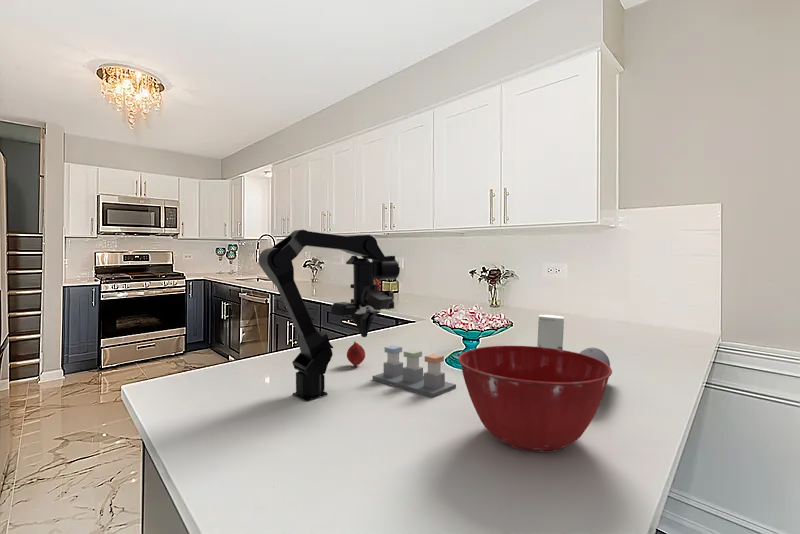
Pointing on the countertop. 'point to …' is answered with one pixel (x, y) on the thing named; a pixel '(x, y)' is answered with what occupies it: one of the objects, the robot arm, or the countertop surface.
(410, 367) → the key
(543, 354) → the mixing bowl
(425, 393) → the key console
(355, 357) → the onion
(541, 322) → the skincare box
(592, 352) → the bluetooth speaker
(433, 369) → the key
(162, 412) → the countertop surface
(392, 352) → the key
